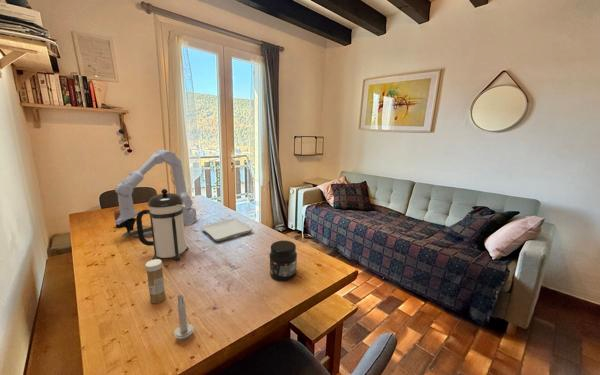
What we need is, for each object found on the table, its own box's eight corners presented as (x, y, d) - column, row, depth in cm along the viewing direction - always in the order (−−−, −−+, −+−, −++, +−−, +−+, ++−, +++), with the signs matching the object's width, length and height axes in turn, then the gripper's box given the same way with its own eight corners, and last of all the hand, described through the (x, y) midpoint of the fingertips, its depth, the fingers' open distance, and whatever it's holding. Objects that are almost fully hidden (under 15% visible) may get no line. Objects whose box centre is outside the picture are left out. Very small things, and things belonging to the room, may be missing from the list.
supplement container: (271, 266, 103) (271, 239, 100) (297, 267, 102) (297, 240, 100) (267, 281, 92) (267, 251, 90) (296, 282, 92) (296, 252, 89)
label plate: (165, 228, 139) (165, 225, 139) (150, 237, 126) (150, 235, 126) (139, 227, 140) (139, 224, 139) (122, 236, 127) (121, 234, 127)
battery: (131, 225, 141) (129, 209, 139) (116, 228, 137) (114, 211, 135) (130, 223, 144) (128, 207, 142) (115, 226, 140) (113, 209, 138)
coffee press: (181, 243, 121) (175, 183, 114) (195, 255, 110) (189, 189, 103) (140, 255, 109) (131, 188, 102) (151, 270, 98) (141, 196, 91)
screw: (197, 336, 67) (179, 347, 64) (189, 327, 71) (171, 337, 67) (193, 294, 64) (174, 303, 61) (185, 286, 68) (166, 295, 64)
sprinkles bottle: (147, 299, 81) (142, 262, 78) (162, 293, 85) (158, 257, 82) (153, 306, 78) (148, 267, 75) (168, 299, 82) (164, 262, 79)
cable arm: (156, 229, 134) (155, 222, 134) (158, 231, 132) (158, 224, 131) (126, 236, 125) (125, 229, 124) (129, 238, 122) (128, 231, 121)
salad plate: (216, 245, 120) (215, 239, 120) (199, 231, 136) (199, 225, 135) (254, 234, 134) (254, 228, 133) (235, 222, 150) (235, 217, 149)
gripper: (129, 202, 131) (132, 226, 134) (106, 211, 116) (111, 238, 120) (142, 203, 130) (145, 227, 133) (121, 212, 116) (125, 239, 119)
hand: (130, 232), depth 126 cm, fingers closed, pressing on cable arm
